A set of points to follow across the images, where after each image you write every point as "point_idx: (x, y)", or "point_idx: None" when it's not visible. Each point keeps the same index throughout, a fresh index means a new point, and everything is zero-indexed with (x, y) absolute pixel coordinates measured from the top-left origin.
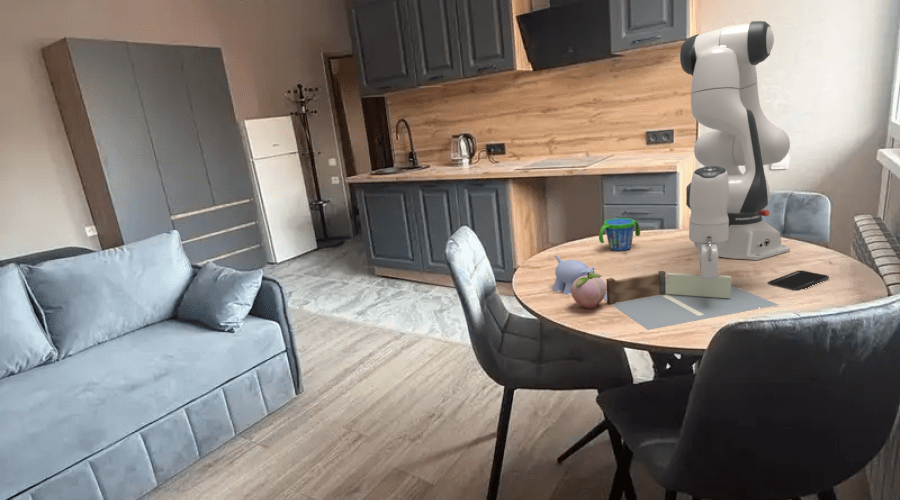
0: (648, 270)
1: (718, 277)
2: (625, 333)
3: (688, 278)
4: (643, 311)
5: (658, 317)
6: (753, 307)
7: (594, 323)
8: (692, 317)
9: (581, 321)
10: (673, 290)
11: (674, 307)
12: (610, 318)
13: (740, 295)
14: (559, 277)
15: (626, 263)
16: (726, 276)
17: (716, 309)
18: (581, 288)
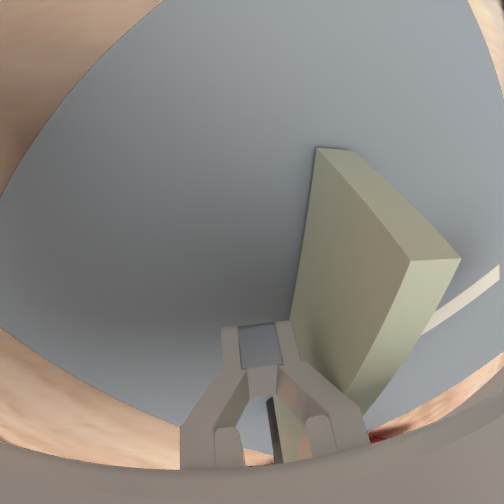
0: (44, 415)
1: (407, 350)
2: (496, 364)
3: None
4: (424, 387)
5: (469, 354)
6: (466, 41)
7: (443, 408)
8: (501, 291)
9: (428, 420)
10: None
11: (420, 349)
12: (430, 405)
13: (246, 69)
14: None
15: (33, 433)
16: (414, 303)
17: (474, 226)
18: None
